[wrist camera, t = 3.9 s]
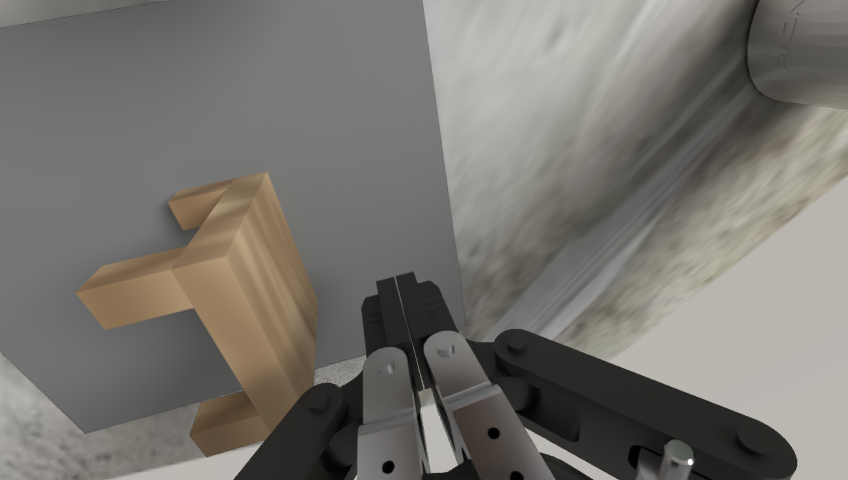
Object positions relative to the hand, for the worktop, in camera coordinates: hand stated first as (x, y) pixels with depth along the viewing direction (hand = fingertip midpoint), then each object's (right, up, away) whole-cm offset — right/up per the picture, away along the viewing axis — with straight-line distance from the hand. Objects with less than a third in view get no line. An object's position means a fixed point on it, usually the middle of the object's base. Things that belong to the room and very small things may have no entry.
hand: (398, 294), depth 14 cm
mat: (-9, +2, +5) cm, 11 cm away
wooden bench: (-8, +1, +5) cm, 9 cm away
